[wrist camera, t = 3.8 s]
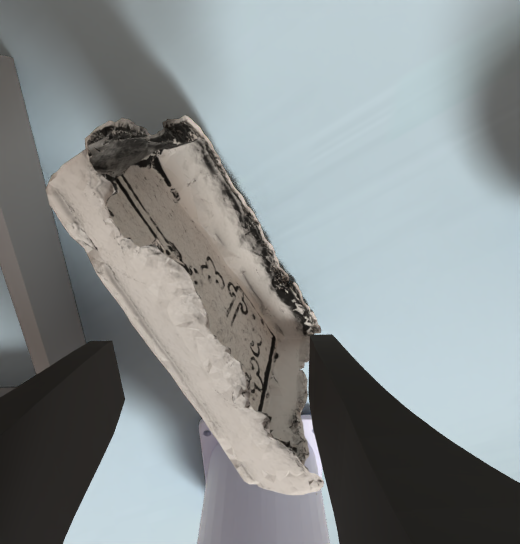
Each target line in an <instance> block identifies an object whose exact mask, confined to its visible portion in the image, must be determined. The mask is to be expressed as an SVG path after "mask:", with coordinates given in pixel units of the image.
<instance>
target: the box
mask: <svg viewBox="0 0 520 544" xmlns="http://www.w3.org/2000/svg"><path fill="white" fill-rule="evenodd" d="M0 266H1V269H2V272H3V275H4V278H5V281H6V284H7V287H8V290H9V293H10V296H11V299H12V302H13V305H14V308H15V311H16V314H17V317H18V320H19V323H20V326H21V329H22V332H23V335H24V338H25V341H26V344H27V347H28V350H29V353H30V356H31V359H32V362H33V365H34V368H35V371H36V374H38V373H40V372H42V371H43V370H45V369H46V368H48V367H49V366H51V365H52V364H54V363H56V362H57V361H59V360H60V359H62V358H63V357H65V356H66V355H68V354H70V353H71V352H73V351H74V350H76V349H78V348H79V347H81V346H83V345H85V344H86V341H85V337H84V333H83V329H82V326H81V322H80V318H79V314H78V310H77V306H76V302H75V298H74V294H73V290H72V287H71V283H70V279H69V275H68V271H67V267H66V263H65V259H64V255H63V251H62V247H61V244H60V240H59V236H58V232H57V228H56V224H55V220H54V216H53V212H52V208H51V206H50V205H49V201H48V196H47V193H46V185H45V181H44V177H43V173H42V169H41V165H40V162H39V158H38V154H37V150H36V146H35V142H34V138H33V134H32V130H31V126H30V123H29V119H28V115H27V111H26V107H25V103H24V99H23V95H22V91H21V87H20V83H19V80H18V76H17V72H16V68H15V64H14V60H13V58H12V57H8V56H4V55H0ZM15 388H16V387H6V388H0V397H2V396H3V395H5V394H6V393H8V392H10V391H11V390H13V389H15Z"/></svg>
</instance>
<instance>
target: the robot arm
mask: <svg viewBox="0 0 520 544" xmlns="http://www.w3.org/2000/svg"><path fill="white" fill-rule="evenodd" d="M124 401H125V397H124V392H123V388H122V383H121V379H120V374H119V370H118V365H117V361H116V356H115V352H114V347H113V343H112V341H90V342H88V343H86V344H85V345H83V346H81V347H79V348H78V349H76V350H74V351H73V352H71V353H70V354H68V355H66V356H65V357H63V358H62V359H60V360H59V361H57V362H56V363H54V364H52V365H51V366H49V367H48V368H46V369H45V370H43V371H42V372H40V373H38V374H37V375H35V376H34V377H32V378H31V379H29V380H28V381H26V382H24V383H23V384H21V385H20V386H18V387H16V388H15V389H13V390H11V391H10V392H8V393H6V394H5V395H3V396H2V397H0V544H63V542H64V539H65V537H66V534H67V532H68V530H69V527H70V525H71V523H72V521H73V518H74V516H75V514H76V512H77V510H78V508H79V506H80V504H81V501H82V499H83V497H84V495H85V493H86V491H87V489H88V487H89V485H90V483H91V481H92V479H93V477H94V474H95V472H96V470H97V468H98V466H99V464H100V462H101V460H102V458H103V456H104V453H105V451H106V449H107V447H108V445H109V443H110V441H111V439H112V436H113V434H114V432H115V429H116V426H117V423H118V420H119V417H120V414H121V410H122V407H123V404H124ZM309 402H310V410H311V415H301V419H302V422H303V429H304V436H305V438H306V440H307V442H308V448H309V457H308V458H307V459H306V460H305V464H304V466H306V467H307V468H308V471H309V472H310V473H315V474H317V475H318V476H319V477H321V479H322V467H323V471H324V475H325V479H326V483H327V487H328V491H329V495H330V499H331V504H332V508H333V512H334V516H335V521H336V526H337V531H338V537H339V543H340V544H520V483H519V482H517V481H515V480H513V479H511V478H510V477H508V476H506V475H505V474H503V473H501V472H500V471H498V470H496V469H495V468H493V467H491V466H489V465H488V464H486V463H485V462H483V461H481V460H480V459H478V458H477V457H475V456H474V455H472V454H471V453H469V452H467V451H466V450H464V449H463V448H461V447H460V446H458V445H457V444H455V443H454V442H452V441H451V440H449V439H448V438H446V437H445V436H443V435H442V434H440V433H439V432H438V431H436V430H435V429H434V428H432V427H431V426H430V425H428V424H427V423H426V422H424V421H423V420H422V419H420V418H419V417H418V416H416V415H415V414H414V413H412V412H411V411H410V410H409V409H407V408H406V407H405V406H404V405H402V404H401V403H400V402H399V401H398V400H397V399H396V398H394V397H393V396H392V395H391V394H390V393H389V392H388V391H386V390H385V389H384V388H383V387H382V386H381V385H380V384H379V383H378V382H377V381H376V380H375V379H374V378H373V377H372V376H371V375H370V374H369V373H368V372H367V371H366V370H365V369H364V368H363V367H362V366H361V365H360V364H359V363H358V362H357V361H356V360H355V359H354V358H353V357H352V356H351V355H350V354H349V352H348V351H347V350H346V349H345V348H344V347H343V346H342V345H341V344H340V342H339V341H338V340H337V339H336V338H335V337H334V336H333V335H310V350H309ZM206 430H208V431H209V432H207V431H206ZM199 434H200V441H201V449H202V457H203V465H204V472H205V480H206V488H205V494H204V501H203V508H202V514H201V521H200V528H199V534H198V541H197V544H330V540H329V534H328V528H327V522H326V516H325V510H324V504H323V497H322V491H321V489H320V490H319V491H317V492H312V493H307V494H305V495H286V494H282V493H278V492H274V491H270V490H266V489H263V488H261V487H258V486H257V484H248V483H246V482H244V481H243V479H242V478H241V476H240V474H239V473H238V471H237V470H236V468H235V467H234V465H233V464H232V462H231V461H230V459H229V458H228V456H227V455H226V453H225V452H224V450H223V448H222V447H221V445H220V443H219V442H218V441H217V439H216V438H215V436H214V435H213V434H212V432H211V431H210V429H209V428H208V426H207V425H206V423H205V422H204V420H203V419H201V420H200V422H199ZM316 493H317V495H316Z"/></svg>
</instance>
